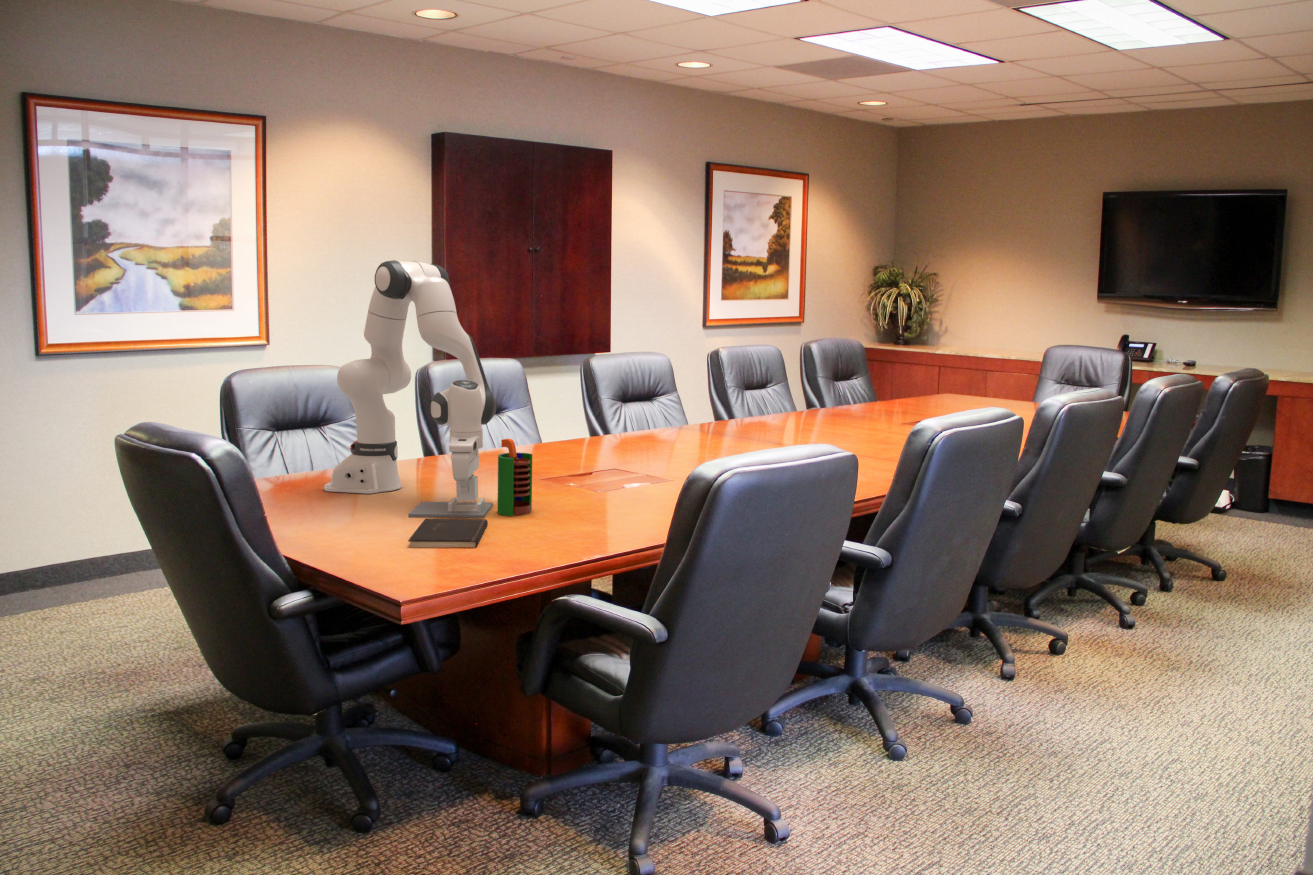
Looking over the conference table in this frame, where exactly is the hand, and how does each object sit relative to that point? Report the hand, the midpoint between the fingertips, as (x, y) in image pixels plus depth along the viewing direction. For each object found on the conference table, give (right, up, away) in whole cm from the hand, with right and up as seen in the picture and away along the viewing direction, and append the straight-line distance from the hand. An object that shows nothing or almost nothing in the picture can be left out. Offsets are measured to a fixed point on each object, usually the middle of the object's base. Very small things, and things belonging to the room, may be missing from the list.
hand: (467, 491), depth 289 cm
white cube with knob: (0, -2, 0) cm, 2 cm away
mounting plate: (-4, -5, +1) cm, 7 cm away
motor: (+13, -6, +1) cm, 14 cm away
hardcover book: (+1, -10, -27) cm, 29 cm away
